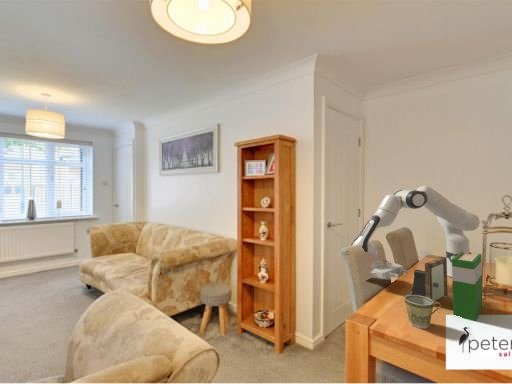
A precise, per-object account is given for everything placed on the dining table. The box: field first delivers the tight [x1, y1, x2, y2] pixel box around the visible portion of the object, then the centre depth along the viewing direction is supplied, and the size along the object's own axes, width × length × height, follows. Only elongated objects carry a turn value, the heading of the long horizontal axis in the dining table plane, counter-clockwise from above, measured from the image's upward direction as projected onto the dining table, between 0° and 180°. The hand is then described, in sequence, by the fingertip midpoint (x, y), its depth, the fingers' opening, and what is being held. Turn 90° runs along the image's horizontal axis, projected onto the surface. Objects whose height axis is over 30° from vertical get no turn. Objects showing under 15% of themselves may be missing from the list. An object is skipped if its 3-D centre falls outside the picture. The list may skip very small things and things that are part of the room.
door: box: [432, 263, 445, 302], centre depth 131 cm, size 14×3×16 cm, turn 125°
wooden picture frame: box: [424, 256, 448, 300], centre depth 131 cm, size 19×2×19 cm, turn 125°
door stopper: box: [411, 269, 426, 297], centre depth 137 cm, size 9×6×12 cm, turn 124°
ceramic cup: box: [404, 295, 442, 330], centre depth 108 cm, size 13×10×10 cm
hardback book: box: [451, 252, 484, 322], centre depth 118 cm, size 18×7×24 cm, turn 133°
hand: (403, 274), depth 144 cm, fingers open, 8 cm apart
